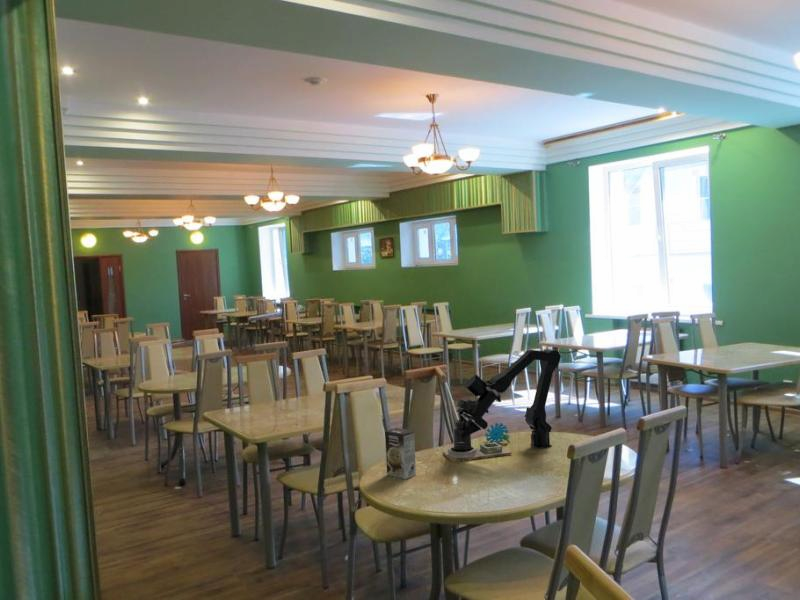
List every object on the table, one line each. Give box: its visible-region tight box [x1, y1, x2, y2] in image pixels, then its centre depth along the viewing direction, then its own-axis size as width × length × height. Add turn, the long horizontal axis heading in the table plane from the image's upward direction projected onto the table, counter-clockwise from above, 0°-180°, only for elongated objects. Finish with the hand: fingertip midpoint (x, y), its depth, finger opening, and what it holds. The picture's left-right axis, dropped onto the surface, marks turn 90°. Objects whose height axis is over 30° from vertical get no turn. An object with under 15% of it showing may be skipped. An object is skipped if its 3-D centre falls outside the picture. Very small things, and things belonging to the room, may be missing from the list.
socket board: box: [442, 442, 512, 463], centre depth 260 cm, size 24×12×3 cm, turn 105°
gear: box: [484, 422, 511, 444], centre depth 278 cm, size 11×6×10 cm
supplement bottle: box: [452, 419, 472, 452], centre depth 258 cm, size 7×7×12 cm
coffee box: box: [384, 427, 417, 480], centre depth 238 cm, size 9×6×16 cm
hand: (458, 435), depth 257 cm, fingers closed on supplement bottle, 7 cm apart
